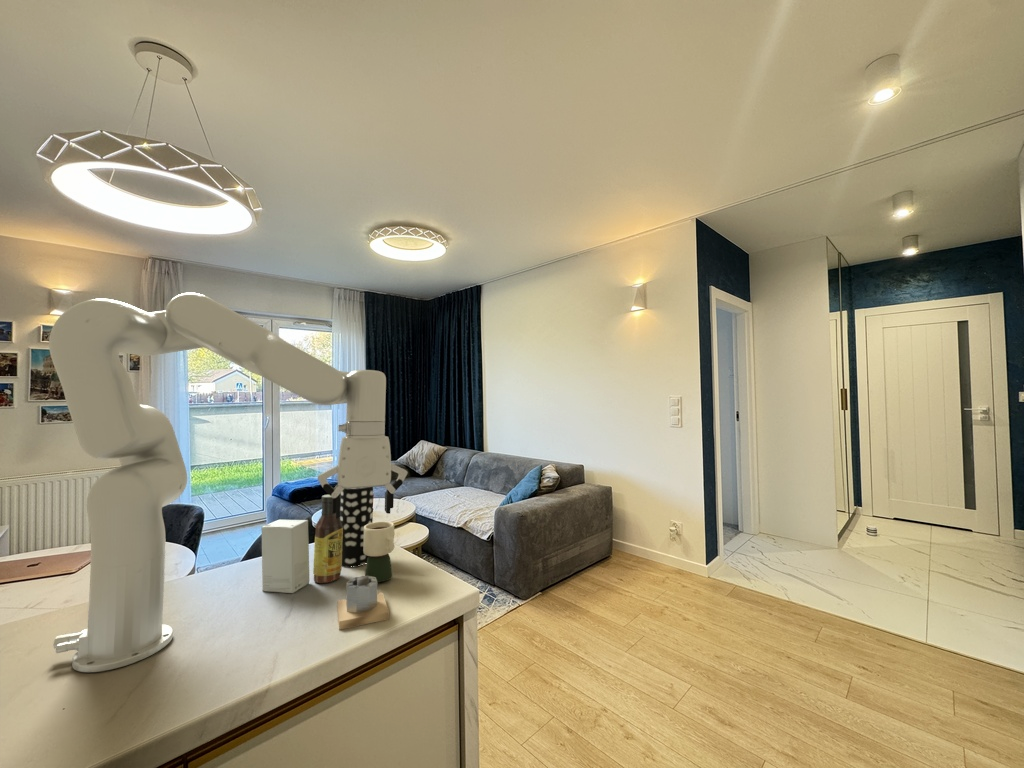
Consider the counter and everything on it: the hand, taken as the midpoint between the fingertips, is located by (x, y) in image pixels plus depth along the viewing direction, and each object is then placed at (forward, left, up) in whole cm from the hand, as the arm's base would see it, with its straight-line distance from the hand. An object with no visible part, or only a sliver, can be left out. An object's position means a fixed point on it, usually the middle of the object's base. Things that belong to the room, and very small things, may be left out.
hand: (363, 514), depth 84 cm
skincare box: (-15, +20, -20) cm, 32 cm away
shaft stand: (0, 0, -20) cm, 20 cm away
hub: (0, 0, -18) cm, 18 cm away
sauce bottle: (-6, +21, -20) cm, 30 cm away
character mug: (+5, +15, -20) cm, 25 cm away
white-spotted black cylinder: (+1, +30, -20) cm, 36 cm away
